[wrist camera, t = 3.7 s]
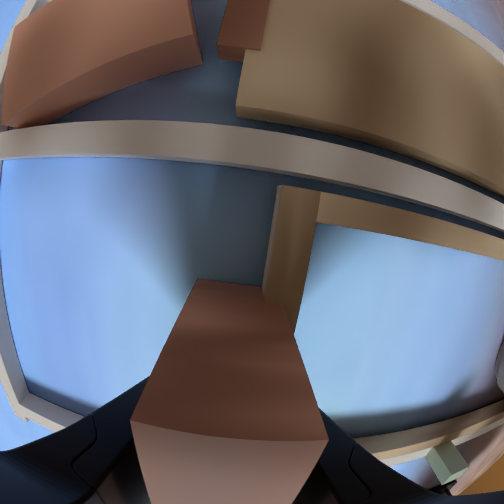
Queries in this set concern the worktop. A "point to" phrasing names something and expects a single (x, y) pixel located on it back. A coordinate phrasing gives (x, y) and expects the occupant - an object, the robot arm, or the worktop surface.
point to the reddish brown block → (92, 54)
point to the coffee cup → (500, 368)
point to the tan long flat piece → (371, 79)
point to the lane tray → (250, 157)
